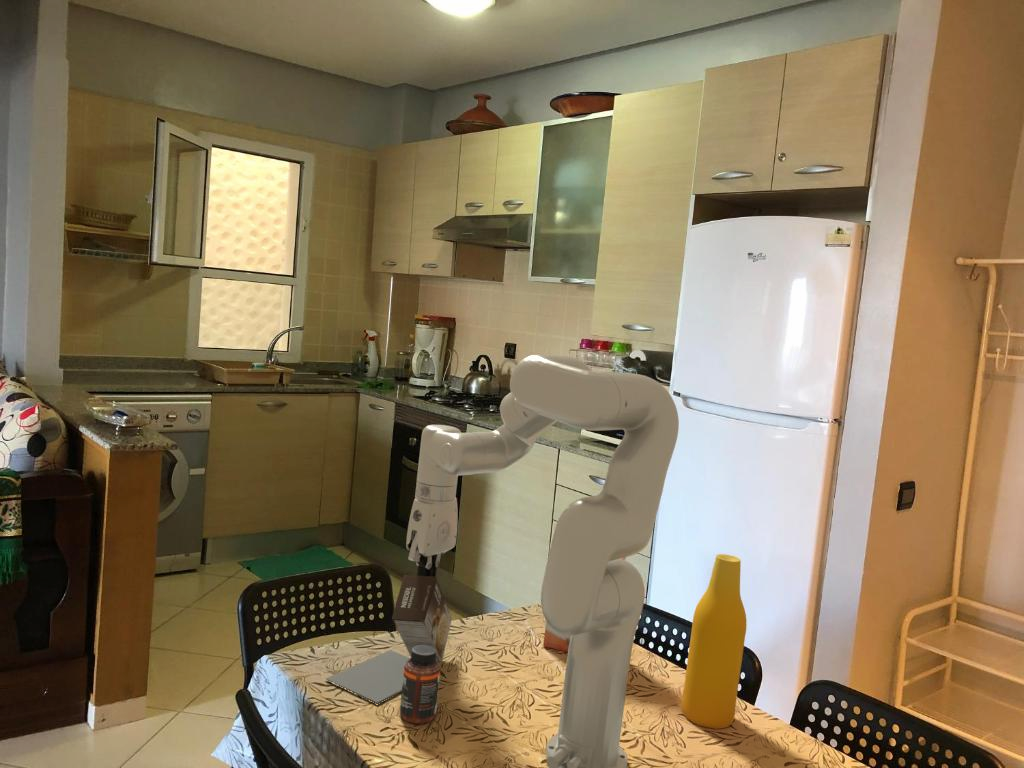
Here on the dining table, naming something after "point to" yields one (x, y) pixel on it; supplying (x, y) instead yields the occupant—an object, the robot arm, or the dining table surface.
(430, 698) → the supplement bottle
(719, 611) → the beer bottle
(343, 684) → the mat
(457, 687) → the dining table surface
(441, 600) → the coffee box
